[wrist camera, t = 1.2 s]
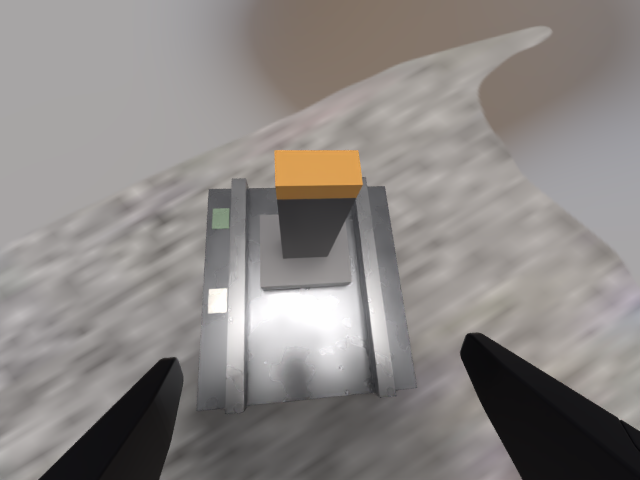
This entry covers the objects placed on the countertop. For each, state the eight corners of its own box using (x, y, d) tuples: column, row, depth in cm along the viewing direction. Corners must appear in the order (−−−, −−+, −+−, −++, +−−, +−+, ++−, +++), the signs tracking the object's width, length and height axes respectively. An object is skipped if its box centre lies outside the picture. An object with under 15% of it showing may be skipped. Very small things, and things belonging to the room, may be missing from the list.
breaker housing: (405, 382, 20) (427, 392, 17) (205, 403, 19) (188, 418, 15) (377, 197, 25) (390, 176, 22) (215, 200, 23) (203, 178, 20)
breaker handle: (347, 285, 20) (413, 232, 9) (262, 290, 19) (227, 238, 9) (341, 220, 21) (390, 110, 11) (261, 222, 21) (231, 108, 10)
